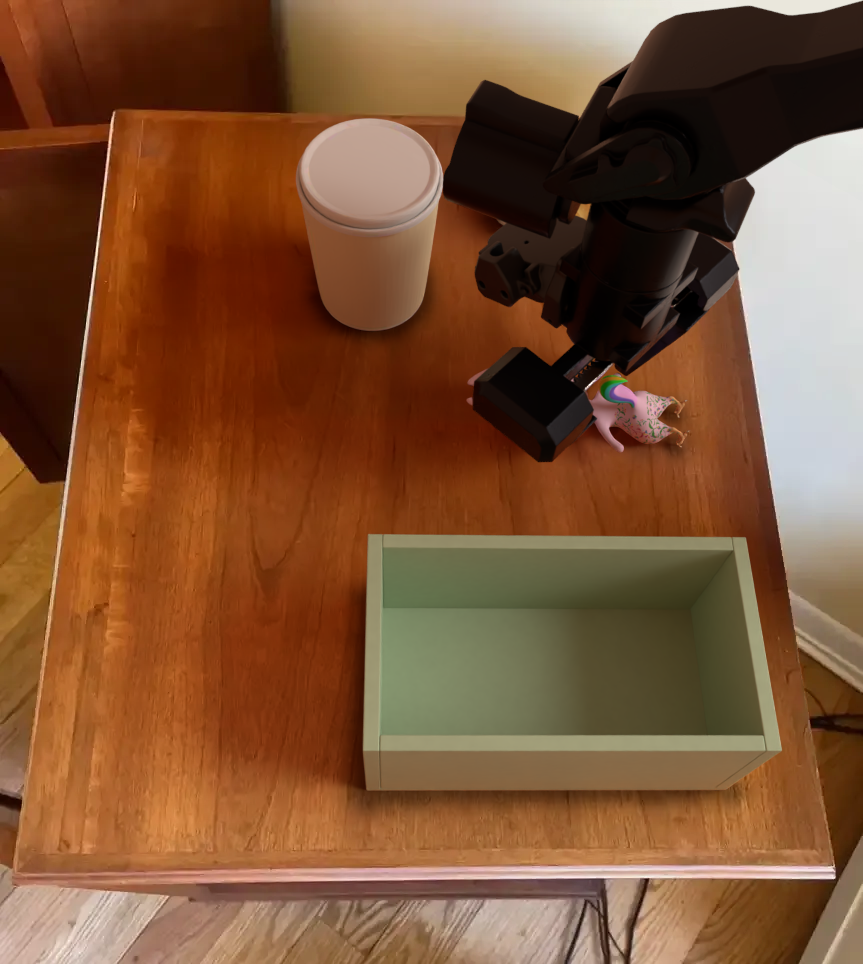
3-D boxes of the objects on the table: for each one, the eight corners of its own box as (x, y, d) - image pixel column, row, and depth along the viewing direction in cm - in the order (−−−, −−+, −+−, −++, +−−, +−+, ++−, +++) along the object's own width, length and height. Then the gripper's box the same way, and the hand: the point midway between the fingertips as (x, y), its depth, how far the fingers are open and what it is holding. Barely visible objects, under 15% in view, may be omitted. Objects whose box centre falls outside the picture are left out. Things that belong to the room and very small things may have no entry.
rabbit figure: (667, 401, 72) (463, 366, 70) (704, 354, 67) (485, 314, 65) (672, 478, 69) (459, 444, 67) (711, 434, 64) (481, 396, 62)
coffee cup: (434, 240, 77) (441, 114, 66) (438, 341, 72) (446, 223, 62) (310, 239, 76) (297, 113, 66) (306, 341, 72) (292, 223, 61)
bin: (699, 600, 64) (746, 536, 55) (725, 790, 58) (782, 751, 50) (370, 598, 63) (367, 533, 55) (366, 790, 57) (362, 750, 49)
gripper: (624, 89, 60) (581, 261, 74) (405, 264, 54) (404, 418, 68) (779, 189, 57) (705, 349, 71) (567, 389, 50) (530, 523, 64)
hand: (586, 404), depth 68 cm, fingers closed on rabbit figure, 7 cm apart
